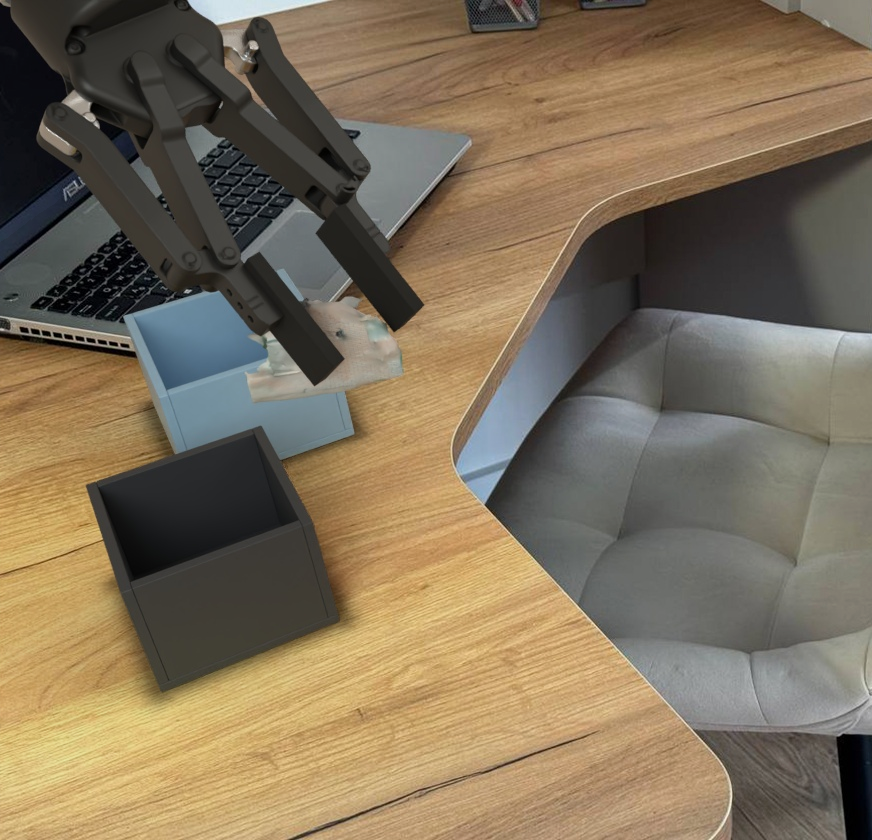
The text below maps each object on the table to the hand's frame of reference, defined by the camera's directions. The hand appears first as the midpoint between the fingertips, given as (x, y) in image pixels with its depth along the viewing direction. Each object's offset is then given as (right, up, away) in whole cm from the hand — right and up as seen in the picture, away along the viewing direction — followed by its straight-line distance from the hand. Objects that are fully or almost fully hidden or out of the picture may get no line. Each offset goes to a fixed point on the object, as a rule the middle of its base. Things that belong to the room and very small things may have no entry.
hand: (369, 344), depth 66 cm
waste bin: (-10, -14, +11) cm, 21 cm away
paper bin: (-13, -4, +25) cm, 29 cm away
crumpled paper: (-3, -2, +4) cm, 5 cm away
